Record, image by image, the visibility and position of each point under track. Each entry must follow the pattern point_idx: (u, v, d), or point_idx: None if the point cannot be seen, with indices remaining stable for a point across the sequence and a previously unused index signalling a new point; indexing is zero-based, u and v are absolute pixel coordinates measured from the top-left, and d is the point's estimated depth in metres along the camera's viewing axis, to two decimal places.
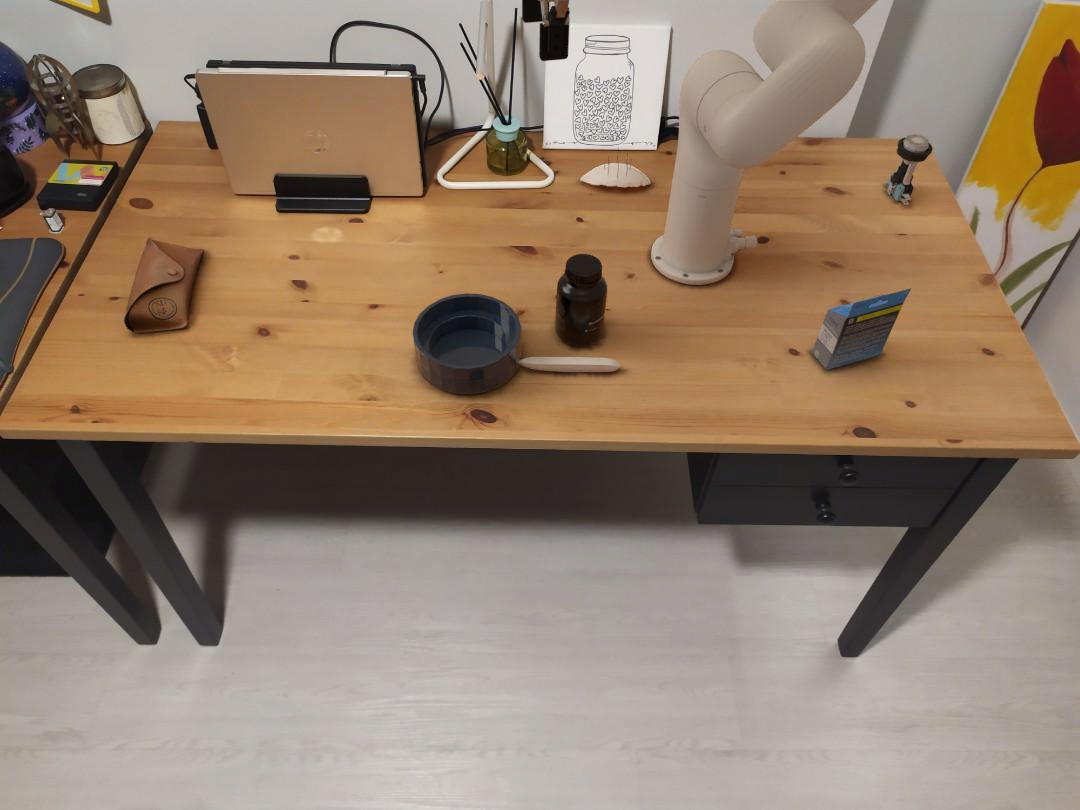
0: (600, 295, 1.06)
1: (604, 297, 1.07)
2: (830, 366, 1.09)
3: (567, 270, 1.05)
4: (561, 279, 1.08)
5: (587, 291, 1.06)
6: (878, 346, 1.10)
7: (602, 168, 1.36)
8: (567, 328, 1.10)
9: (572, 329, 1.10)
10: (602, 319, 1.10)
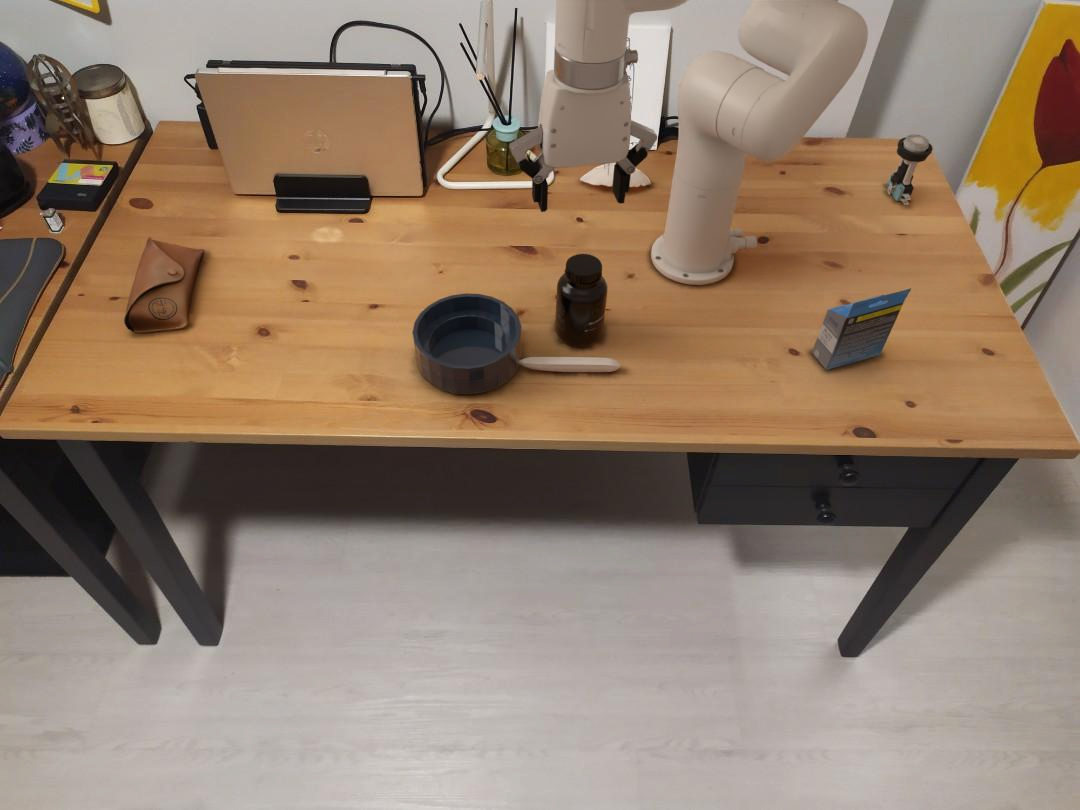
0: (600, 295, 1.06)
1: (604, 297, 1.07)
2: (830, 366, 1.09)
3: (567, 270, 1.05)
4: (561, 279, 1.08)
5: (587, 291, 1.06)
6: (878, 346, 1.10)
7: (602, 168, 1.36)
8: (567, 328, 1.10)
9: (572, 329, 1.10)
10: (602, 319, 1.10)
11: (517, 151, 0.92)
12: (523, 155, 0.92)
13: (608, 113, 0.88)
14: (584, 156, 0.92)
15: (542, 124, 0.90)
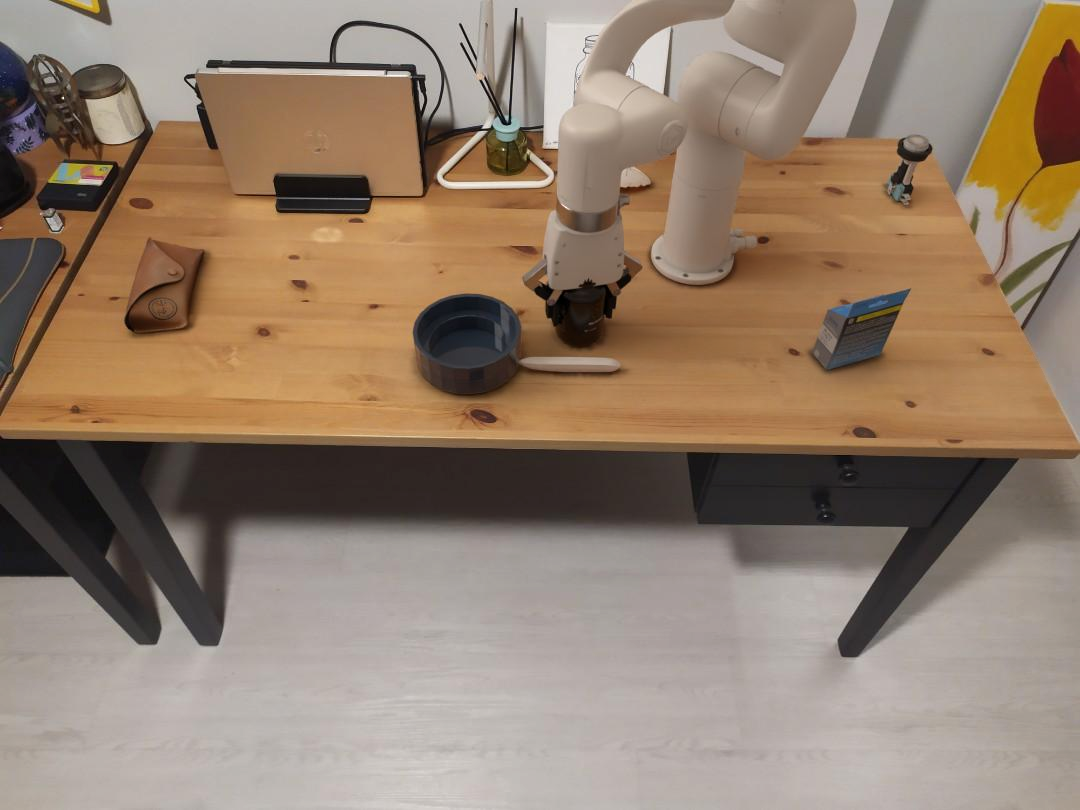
0: (600, 295, 1.06)
1: (604, 297, 1.07)
2: (830, 366, 1.09)
3: None
4: None
5: (587, 291, 1.06)
6: (878, 346, 1.10)
7: None
8: (567, 328, 1.10)
9: (572, 329, 1.10)
10: (602, 319, 1.10)
11: (529, 283, 1.05)
12: (535, 284, 1.05)
13: (604, 247, 1.01)
14: (583, 280, 1.04)
15: (546, 255, 1.03)
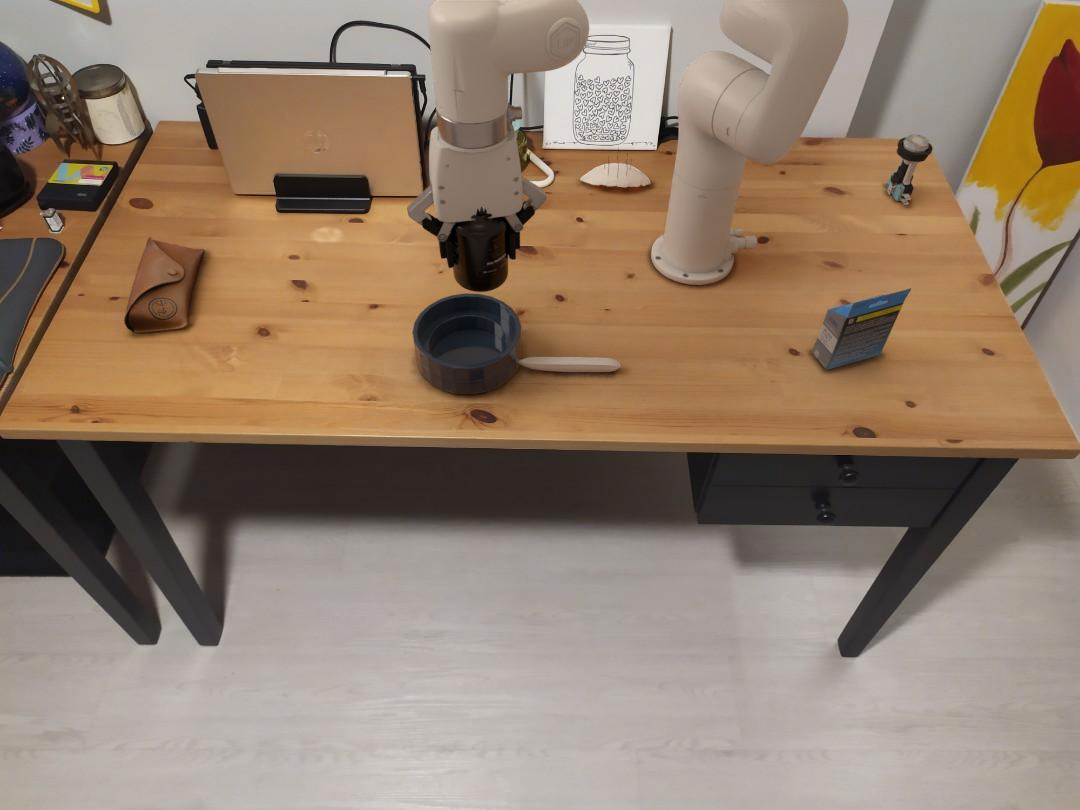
0: (497, 229, 0.93)
1: (503, 232, 0.94)
2: (830, 366, 1.09)
3: None
4: None
5: (481, 224, 0.92)
6: (878, 346, 1.10)
7: (602, 168, 1.36)
8: (463, 270, 0.96)
9: (469, 270, 0.96)
10: (504, 259, 0.97)
11: (414, 214, 0.91)
12: (422, 215, 0.92)
13: (495, 169, 0.87)
14: (476, 211, 0.91)
15: (431, 180, 0.89)
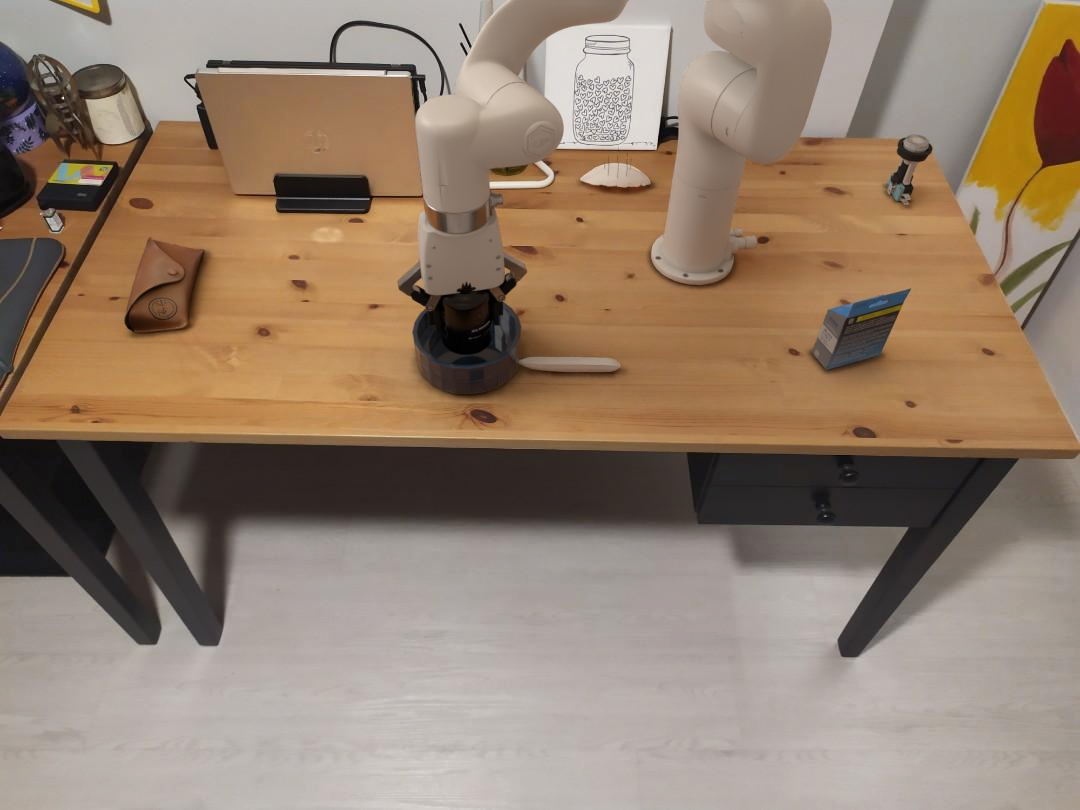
0: (481, 301, 1.00)
1: (486, 303, 1.01)
2: (830, 366, 1.09)
3: None
4: None
5: (466, 297, 0.99)
6: (878, 346, 1.10)
7: (602, 168, 1.36)
8: (450, 336, 1.04)
9: (455, 336, 1.03)
10: (488, 326, 1.04)
11: (404, 287, 0.98)
12: (411, 289, 0.99)
13: (479, 249, 0.94)
14: (461, 285, 0.98)
15: (419, 258, 0.96)
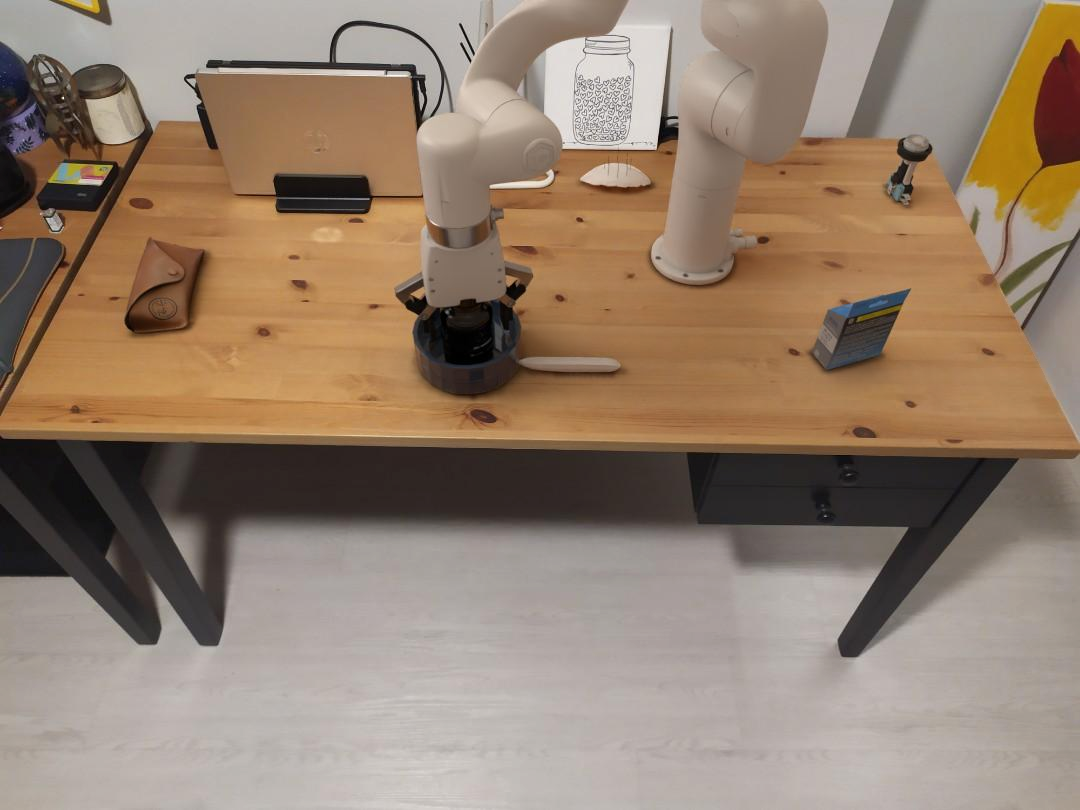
0: (483, 319, 1.02)
1: (488, 321, 1.03)
2: (830, 366, 1.09)
3: None
4: None
5: (468, 315, 1.02)
6: (878, 346, 1.10)
7: (602, 168, 1.36)
8: (452, 353, 1.06)
9: (458, 353, 1.05)
10: (489, 343, 1.06)
11: (401, 295, 0.99)
12: (407, 297, 1.00)
13: (480, 263, 0.96)
14: (463, 297, 1.00)
15: (422, 271, 0.98)
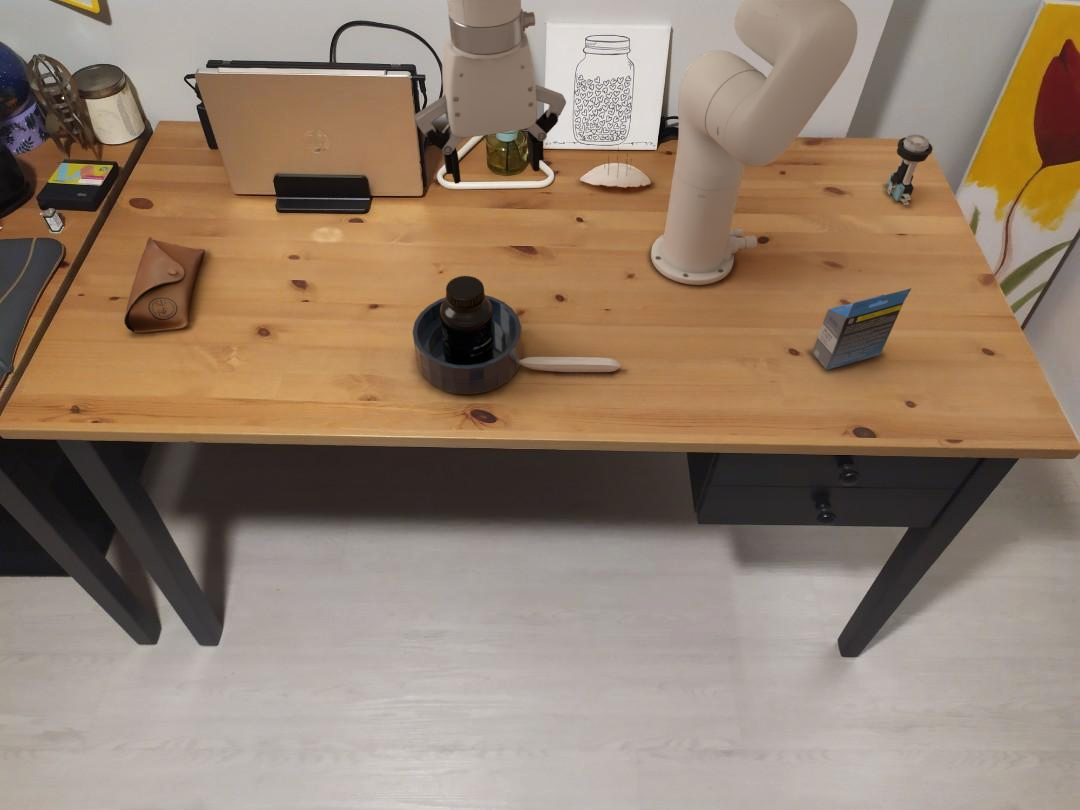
0: (483, 319, 1.02)
1: (488, 321, 1.03)
2: (830, 366, 1.09)
3: (447, 293, 1.01)
4: (444, 302, 1.04)
5: (468, 315, 1.02)
6: (878, 346, 1.10)
7: (602, 168, 1.36)
8: (452, 353, 1.06)
9: (458, 353, 1.05)
10: (489, 343, 1.06)
11: (422, 122, 0.90)
12: (429, 126, 0.91)
13: (509, 78, 0.87)
14: (491, 124, 0.91)
15: (445, 93, 0.89)
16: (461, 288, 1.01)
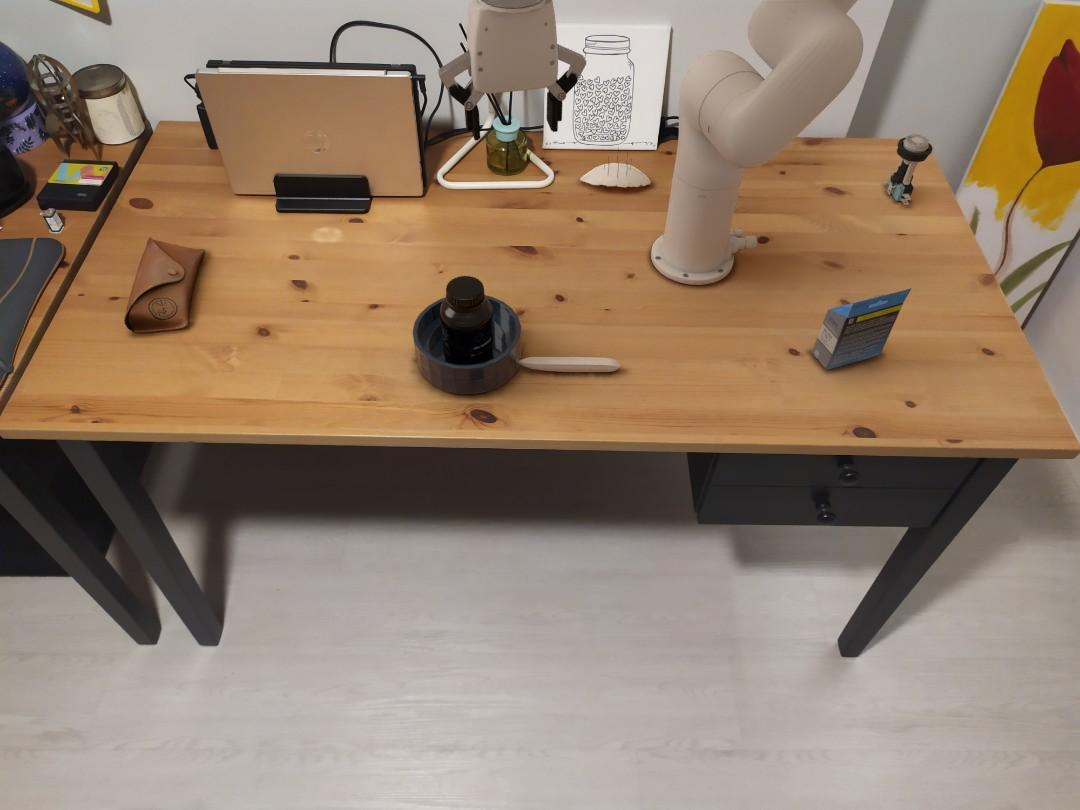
0: (483, 319, 1.02)
1: (488, 321, 1.03)
2: (830, 366, 1.09)
3: (447, 293, 1.01)
4: (444, 302, 1.04)
5: (468, 315, 1.02)
6: (878, 346, 1.10)
7: (602, 168, 1.36)
8: (452, 353, 1.06)
9: (458, 353, 1.05)
10: (489, 343, 1.06)
11: (445, 77, 0.92)
12: (452, 80, 0.93)
13: (533, 35, 0.89)
14: (512, 81, 0.93)
15: (469, 48, 0.91)
16: (461, 288, 1.01)
